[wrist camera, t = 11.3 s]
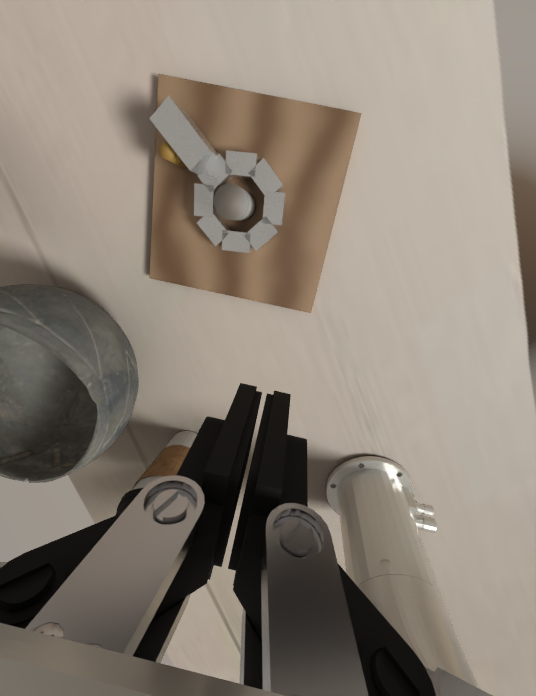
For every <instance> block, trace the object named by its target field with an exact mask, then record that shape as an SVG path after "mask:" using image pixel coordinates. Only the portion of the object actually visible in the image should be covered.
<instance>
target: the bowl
mask: <svg viewBox="0 0 536 696" xmlns="http://www.w3.org/2000/svg"><path fill="white" fill-rule="evenodd" d="M137 392H138V370H137V362H136V358H135V355H134V351H133V349H132V346H131V344H130V342H129V340H128V338H127V336H126V335H125V333H124V332H123V331H122V329H121V328H120V326H119V325H118V324H117V323H116V322H115V320H114V319H113V318H112V317H111V316H110V315H109V314H108V313H107V312H106V311H105V310H104V309H103V308H102V307H100V306H99V305H98V304H96V303H95V302H93V301H91V300H90V299H88V298H86V297H84V296H81V295H79V294H77V293H75V292H72V291H69V290H66V289H63V288H60V287H54V286H44V285H30V284H29V285H11V286H5V287H0V476H2V477H6V478H9V479H13V480H19V481H29V482H30V483H32V482H33V483H38V482H39V483H40V482H49V481H53V480H56V479H59V478H61V477H63V476H66V475H68V474H70V473H72V472H74V471H76V470H79V469H80V468H82V467H83V466H85V465H87V464H88V463H90V462H91V461H93V460H94V459H96V458H97V457H98V456H100V455H101V454H102V453H103V452H104V451H106V450H107V449H108V448H109V447H110V446H111V445H112V444H113V443H114V442H115V440H116V439H117V438H118V437H119V435H120V434H121V433H122V431H123V430H124V429H125V427H126V425H127V423H128V422H129V420H130V417H131V415H132V412H133V409H134V405H135V401H136V397H137Z"/></svg>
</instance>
